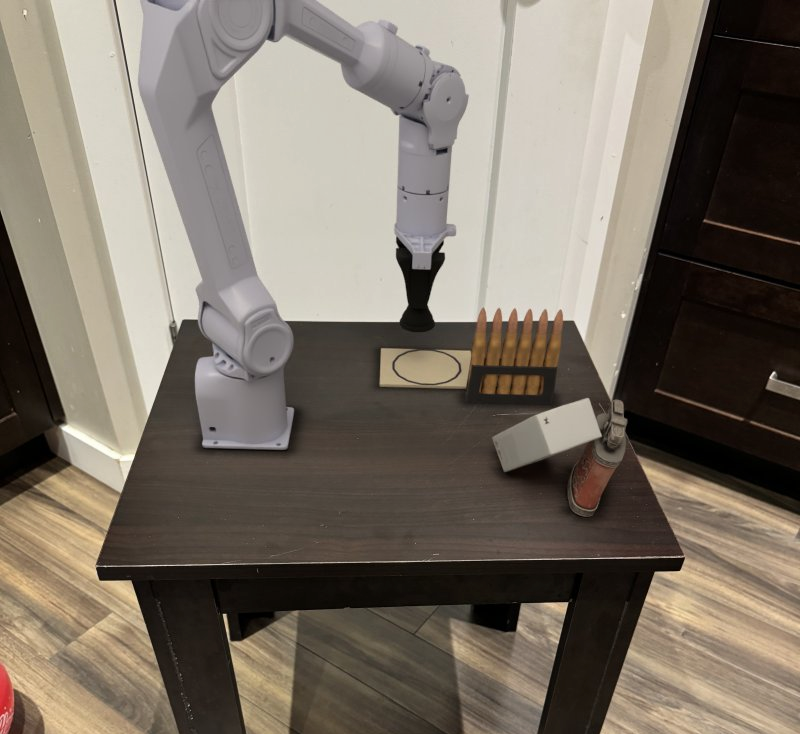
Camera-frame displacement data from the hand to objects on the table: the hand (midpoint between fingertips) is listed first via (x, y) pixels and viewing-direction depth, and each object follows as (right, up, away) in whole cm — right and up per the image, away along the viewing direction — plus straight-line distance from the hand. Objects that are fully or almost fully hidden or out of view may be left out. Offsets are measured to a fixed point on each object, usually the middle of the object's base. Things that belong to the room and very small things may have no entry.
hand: (417, 302), depth 93 cm
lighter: (+17, -24, -12) cm, 32 cm away
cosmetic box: (+11, -19, -9) cm, 24 cm away
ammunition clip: (+11, -12, +2) cm, 16 cm away
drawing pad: (+1, -7, +6) cm, 9 cm away
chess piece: (0, -2, +2) cm, 3 cm away
